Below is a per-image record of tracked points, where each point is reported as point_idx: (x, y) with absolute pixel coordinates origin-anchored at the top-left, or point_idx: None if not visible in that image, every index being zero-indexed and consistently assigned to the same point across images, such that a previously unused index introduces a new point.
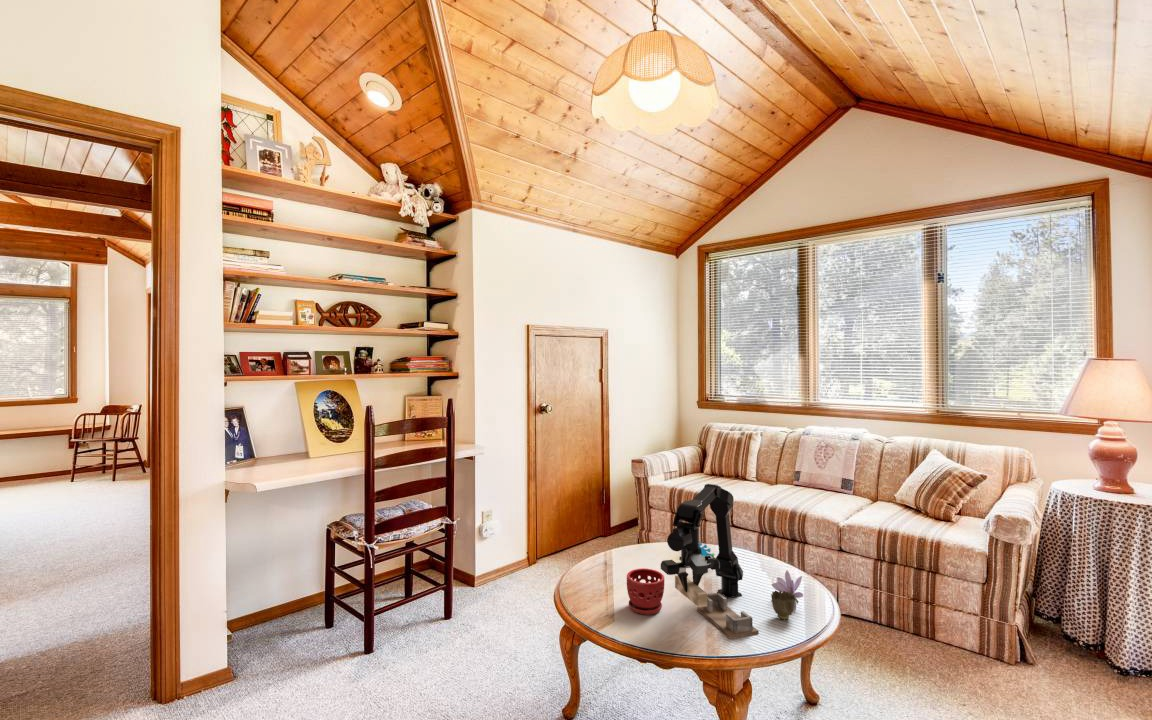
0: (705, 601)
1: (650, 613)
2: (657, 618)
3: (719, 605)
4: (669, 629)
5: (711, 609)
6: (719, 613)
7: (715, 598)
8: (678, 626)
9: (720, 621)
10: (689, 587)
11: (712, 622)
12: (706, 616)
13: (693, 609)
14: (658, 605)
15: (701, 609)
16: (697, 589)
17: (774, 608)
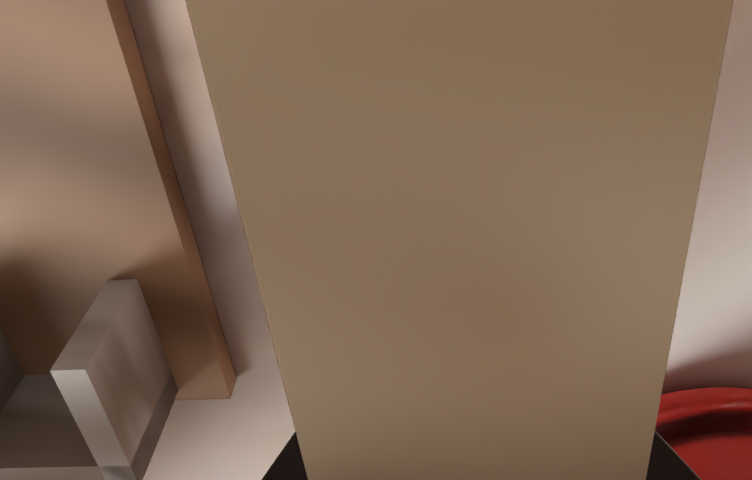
0: None
1: (732, 388)
2: (691, 319)
3: (6, 366)
4: (722, 85)
5: (107, 301)
6: (38, 249)
7: (12, 433)
8: None
9: (62, 80)
10: (649, 440)
11: (160, 127)
12: (191, 245)
13: (270, 387)
14: None
15: (206, 350)
16: (452, 225)
17: None
